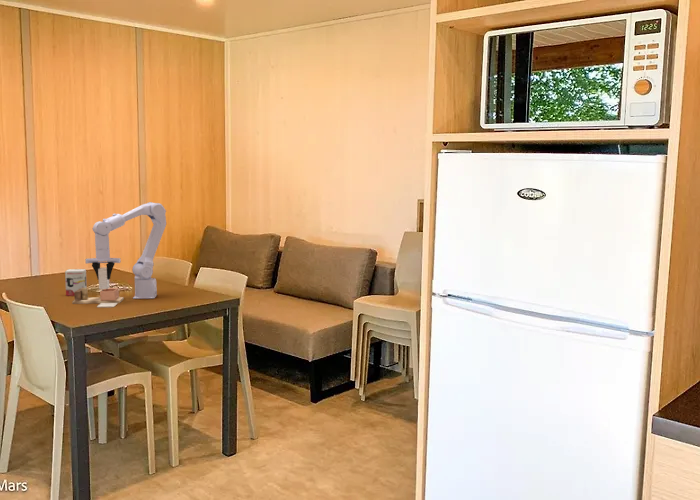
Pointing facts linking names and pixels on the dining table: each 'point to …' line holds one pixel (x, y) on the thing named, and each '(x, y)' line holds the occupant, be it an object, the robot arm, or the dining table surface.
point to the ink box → (75, 280)
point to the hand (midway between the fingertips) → (104, 279)
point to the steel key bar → (103, 278)
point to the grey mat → (107, 305)
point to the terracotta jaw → (109, 294)
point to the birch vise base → (82, 297)
